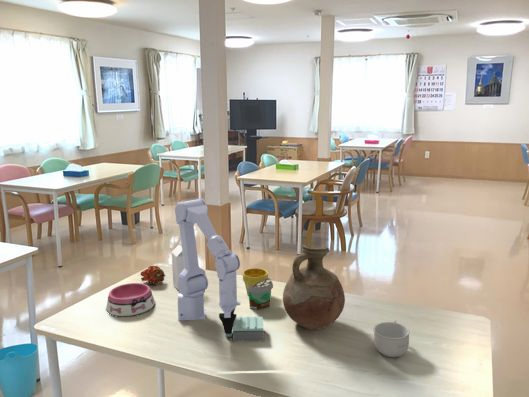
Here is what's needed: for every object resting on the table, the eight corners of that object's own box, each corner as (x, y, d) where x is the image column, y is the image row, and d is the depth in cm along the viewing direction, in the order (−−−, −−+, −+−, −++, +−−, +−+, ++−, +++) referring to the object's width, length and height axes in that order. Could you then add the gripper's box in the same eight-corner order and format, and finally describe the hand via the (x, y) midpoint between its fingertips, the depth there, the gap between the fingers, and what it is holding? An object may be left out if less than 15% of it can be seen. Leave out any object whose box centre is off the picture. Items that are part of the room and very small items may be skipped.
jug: (355, 324, 161) (358, 244, 155) (319, 348, 145) (321, 260, 139) (307, 306, 175) (308, 232, 169) (269, 326, 160) (270, 245, 154)
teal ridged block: (225, 340, 148) (225, 325, 147) (226, 328, 156) (226, 313, 155) (263, 339, 149) (263, 324, 148) (262, 327, 157) (262, 313, 155)
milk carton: (177, 290, 190) (175, 247, 186) (173, 284, 196) (171, 243, 192) (194, 287, 193) (192, 245, 189) (188, 281, 200) (187, 240, 196)
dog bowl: (116, 322, 163) (115, 305, 162) (99, 305, 177) (97, 288, 176) (163, 308, 174) (162, 291, 173) (143, 292, 189) (142, 277, 187)
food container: (260, 315, 168) (260, 290, 166) (247, 311, 172) (247, 286, 169) (279, 303, 177) (279, 280, 175) (266, 299, 181) (266, 276, 179)
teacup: (402, 365, 136) (404, 341, 134) (367, 355, 142) (369, 331, 140) (414, 344, 148) (416, 322, 146) (381, 335, 153) (383, 314, 151)
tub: (233, 343, 149) (232, 332, 148) (233, 331, 157) (233, 320, 156) (263, 342, 149) (263, 331, 148) (262, 330, 157) (262, 319, 156)
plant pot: (267, 300, 181) (267, 277, 179) (242, 300, 181) (241, 277, 179) (268, 289, 191) (268, 267, 189) (243, 289, 191) (243, 267, 189)
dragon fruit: (165, 289, 195) (142, 289, 200) (172, 272, 201) (150, 272, 206) (155, 278, 190) (132, 278, 195) (162, 261, 195) (140, 262, 200)
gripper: (239, 299, 142) (240, 338, 145) (240, 281, 156) (241, 317, 159) (217, 299, 142) (218, 338, 145) (220, 281, 156) (221, 317, 159)
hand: (228, 327), depth 152 cm, fingers open, 7 cm apart
